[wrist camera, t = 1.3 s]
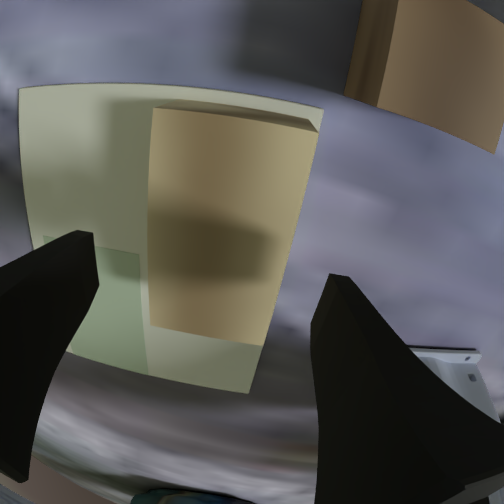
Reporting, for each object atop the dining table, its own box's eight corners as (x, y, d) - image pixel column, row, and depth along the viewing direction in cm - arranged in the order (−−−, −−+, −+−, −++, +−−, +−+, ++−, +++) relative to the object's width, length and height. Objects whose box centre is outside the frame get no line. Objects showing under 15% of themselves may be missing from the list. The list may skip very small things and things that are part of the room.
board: (321, 108, 12) (323, 110, 11) (249, 386, 21) (248, 394, 21) (26, 87, 11) (18, 88, 11) (66, 344, 21) (62, 350, 20)
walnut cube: (456, 37, 9) (519, 35, 5) (436, 126, 12) (494, 154, 8) (362, -2, 9) (402, -31, 5) (342, 95, 11) (376, 107, 8)
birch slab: (308, 119, 11) (319, 133, 9) (265, 301, 16) (263, 346, 14) (179, 99, 11) (153, 107, 9) (167, 284, 16) (150, 325, 13)
